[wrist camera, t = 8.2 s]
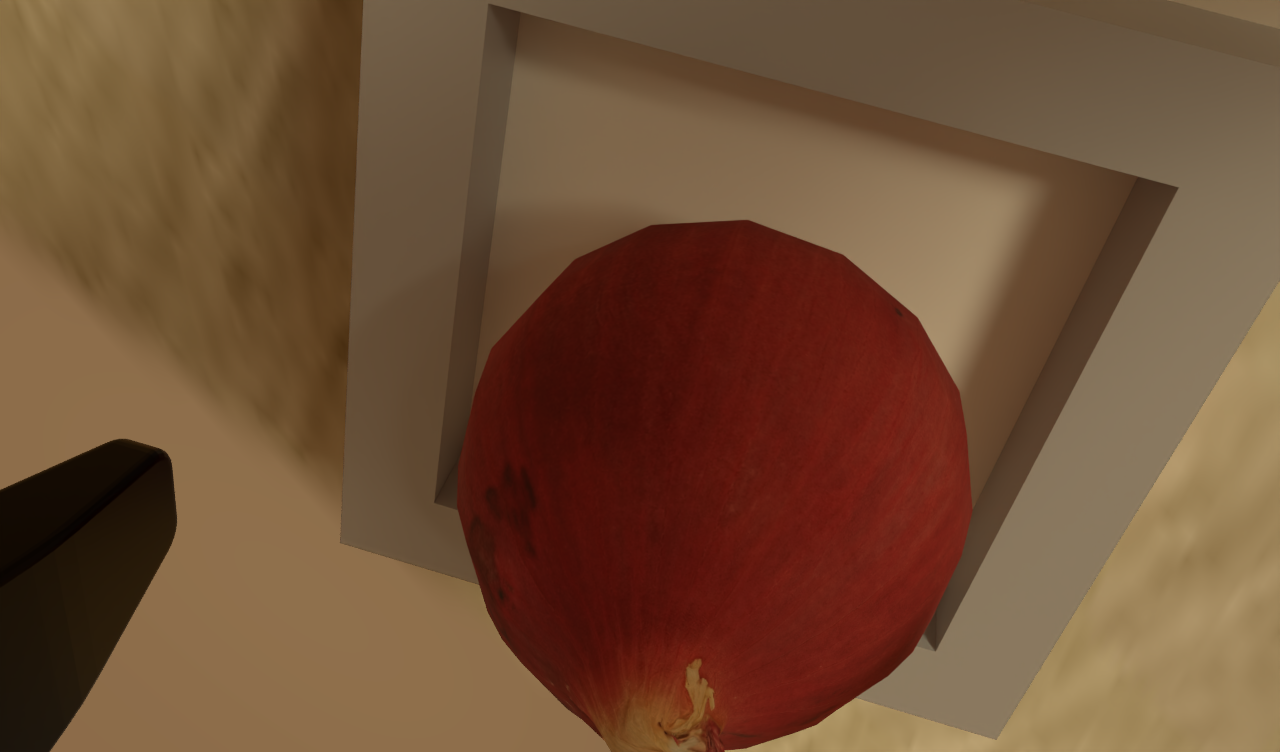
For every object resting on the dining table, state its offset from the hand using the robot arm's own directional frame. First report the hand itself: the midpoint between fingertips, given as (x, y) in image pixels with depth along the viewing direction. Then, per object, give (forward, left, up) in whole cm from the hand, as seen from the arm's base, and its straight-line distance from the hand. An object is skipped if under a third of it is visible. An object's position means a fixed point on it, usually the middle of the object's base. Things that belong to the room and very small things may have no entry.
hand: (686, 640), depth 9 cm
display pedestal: (0, +2, -12) cm, 12 cm away
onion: (0, +2, -8) cm, 8 cm away
